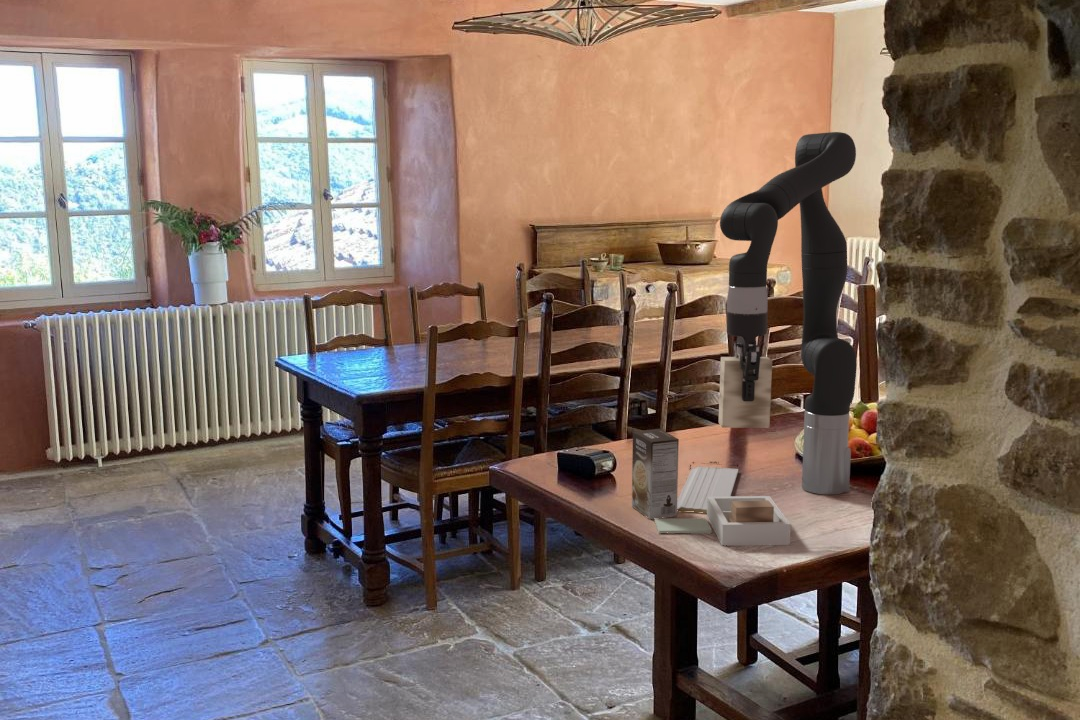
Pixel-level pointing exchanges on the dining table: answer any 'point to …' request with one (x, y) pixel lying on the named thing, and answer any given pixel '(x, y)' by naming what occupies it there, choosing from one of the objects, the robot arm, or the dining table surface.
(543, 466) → the dining table surface
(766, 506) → the walnut offcut upper
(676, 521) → the felt mat
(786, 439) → the dining table surface
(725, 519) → the white open tray
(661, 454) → the coffee box
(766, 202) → the robot arm
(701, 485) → the baseboard molding
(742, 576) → the dining table surface
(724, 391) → the pale wood block
